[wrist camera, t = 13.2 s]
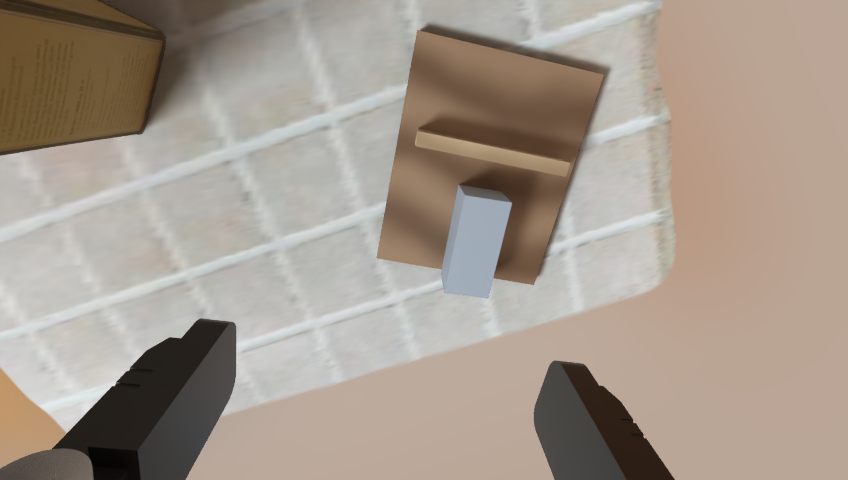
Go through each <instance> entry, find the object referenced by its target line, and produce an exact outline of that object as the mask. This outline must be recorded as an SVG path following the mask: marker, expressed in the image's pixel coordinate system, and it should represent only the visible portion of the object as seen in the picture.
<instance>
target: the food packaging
mask: <svg viewBox="0 0 848 480" xmlns="http://www.w3.org/2000/svg"><path fill="white" fill-rule="evenodd" d="M164 49H165V36H164V34H163V33H162V32H160V31H158V30H157V29H155V28H153V27H151V26H149V25H147V24H145V23H143V22H141V21H139V20H137V19H135V18H133V17H131V16H129V15H127V14H125V13H123V12H121V11H119V10H117V9H115V8H113V7H111V6H109V5H107V4H105V3H103V2H101V1H99V0H0V156H1V155H7V154H13V153H19V152H25V151H31V150H37V149H43V148H49V147H55V146H61V145H68V144H74V143H81V142H87V141H94V140H100V139H107V138H114V137H121V136H128V135H135V134H138V135H140V134H142V132H143V130H144V127H145V124H146V121H147V118H148V114H149V109H150V105H151V100H152V96H153V92H154V88H155V84H156V81H157V77H158V73H159V69H160V65H161V61H162V57H163V53H164Z"/></svg>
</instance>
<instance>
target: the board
mask: <svg viewBox="0 0 848 480" xmlns="http://www.w3.org/2000/svg"><path fill="white" fill-rule="evenodd" d="M603 77H604V75H603V74H599V73H595V72H591V71H587V70H582V69H578V68H574V67H570V66H566V65H562V64H557V63H553V62H549V61H545V60H541V59H536V58H532V57H528V56H524V55H520V54H515V53H511V52H507V51H503V50H499V49H494V48H490V47H486V46H482V45H478V44H474V43H469V42H465V41H461V40H457V39H453V38H448V37H444V36H440V35H436V34H432V33H427V32H423V31H419V30H417V35H416V41H415V46H414V52H413V58H412V63H411V69H410V74H409V80H408V86H407V91H406V97H405V102H404V108H403V114H402V119H401V125H400V130H399V136H398V141H397V147H396V153H395V158H394V164H393V169H392V175H391V181H390V186H389V192H388V197H387V203H386V209H385V214H384V220H383V225H382V231H381V237H380V242H379V248H378V253H377V258H378V259H384V260H390V261H396V262H402V263H408V264H414V265H420V266H425V267H431V268H437V269H442V265H443V260H444V255H445V250H446V245H447V240H448V235H449V230H450V225H451V220H452V215H453V210H454V205H455V200H456V195H457V190H458V185H463V186H470V187H476V188H482V189H489V190H495V191H501V192H502V193H503V194H504V195H505V196H506V197H507V198H508V199H509V200H510V201H511V202H512V206H511V210H510V214H509V217H508V221H507V225H506V229H505V233H504V237H503V241H502V245H501V249H500V253H499V257H498V261H497V265H496V269H495V273H494V277H493V278H496V279H502V280H508V281H514V282H520V283H525V284H531V285H534V283H535V280H536V277H537V274H538V271H539V268H540V265H541V262H542V259H543V256H544V253H545V250H546V247H547V244H548V241H549V238H550V235H551V232H552V229H553V226H554V223H555V220H556V217H557V214H558V211H559V208H560V205H561V202H562V199H563V196H564V193H565V190H566V187H567V184H568V181H569V178H570V175H571V172H572V169H573V166H574V163H575V160H576V157H577V154H578V151H579V148H580V145H581V142H582V139H583V136H584V133H585V130H586V127H587V124H588V121H589V118H590V115H591V112H592V109H593V106H594V103H595V101H596V98H597V95H598V92H599V89H600V86H601V83H602V80H603Z"/></svg>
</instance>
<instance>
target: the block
mask: <svg viewBox="0 0 848 480" xmlns="http://www.w3.org/2000/svg"><path fill="white" fill-rule="evenodd" d="M511 206H512V202H511V201H510V200H509V199H508V198H507V197H506V196H505V195H504V194H503V193H502V192H501V191H495V190H489V189H482V188H476V187H470V186H463V185H458V190H457V195H456V200H455V205H454V210H453V215H452V220H451V225H450V230H449V235H448V240H447V245H446V250H445V255H444V260H443V265H442V270H441V277H442V282H443V287H444V292H445V293H449V294H457V295H465V296H473V297H480V298H488V297H489V293H490V289H491V285H492V281H493V277H494V273H495V269H496V265H497V261H498V257H499V253H500V249H501V245H502V241H503V237H504V233H505V229H506V225H507V221H508V217H509V214H510V210H511Z"/></svg>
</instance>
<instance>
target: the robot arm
mask: <svg viewBox="0 0 848 480" xmlns="http://www.w3.org/2000/svg"><path fill="white" fill-rule="evenodd" d="M235 377H236V325H235V323H234V322H227V321H219V320H210V319H199V320H197V321H196V322H195V323H194V324H193V326H192V327H191V328H190V329H189V330H188V331H187V332H186V334H185V335H184V336H183V337H182V338H181V339H180V338H171V337H170V338H168V339H166V340H164V341H163V342H161V343H159V344H157V345H156V346H154V347H152V348H150V349H149V350H147V351H146V352H145V353H144V354H143V355H142V356H141V357H140V358H139V359H138V360H137V361H136V362H135V363H134V364H133V365H132V366H131V367H130V370H129V371H127V372H126V373H125V374H124V375H123V376H122V377H121V378H120V379H119V380H118V381H117V382H116V385H115V386H112V387H111V388H110V389H109V390H108V391H107V392H106V393H105V394H104V395H103V397H102V398H101V399H100V400H99V401H98V402H97V403H96V404H95V405H94V406H93V407H92V408H91V409H90V410H89V411H88V412H87V413H86V414H85V415H84V416H83V417H82V418H81V419H80V420H79V422H78V423H77V424H76V425H75V426H74V427H73V428H72V429H71V430H70V431H69V432H68V433H67V434H66V435H65V436H64V437H63V438H62V439H61V440H60V441H59V443H57V444H56V445H55V446H54V447H53V448H52V449H51V450H46V451H41V452H37V453H34V454H31V455H28V456H25V457H23V458H20V459H18V460H16V461H14V462H12V463H10V464H8V465H6V466H4V467H3V468H1V469H0V480H185V479H186V478H187V476H188V474H189V472H190V470H191V468H192V466H193V465H194V463H195V461H196V459H197V457H198V455H199V454H200V452H201V450H202V448H203V447H204V445H205V443H206V441H207V439H208V437H209V436H210V434H211V432H212V430H213V428H214V426H215V425H216V423H217V421H218V419H219V417H220V415H221V414H222V412H223V410H224V408H225V406H226V405H227V403H228V401H229V399H230V396H231V394H232V391H233V387H234V383H235ZM534 424H535V429H536V432H537V435H538V437H539V440H540V443H541V445H542V448H543V450H544V453H545V456H546V458H547V461H548V463H549V466H550V468H551V471H552V474H553V476H554V479H555V480H675V479H674V478H673V477H672V475H671V474H670V472H669V471H668V469H667V468H666V467H665V465H664V463H663V462H662V461H661V459H660V458H659V456H658V455H657V453H656V452H655V451H654V449H653V448H652V446H651V445H650V443H649V442H648V440H647V439H645V438H644V437H643V433H642V432H641V430H640V429H639V427H638V426H637V424H636V423H633V419H632V417H631V416H630V415H629V413H628V411H627V410H626V409H625V407H624V406H623V404H622V403H621V402H620V401H619V400H618V399H617V398H616V397H615V396H613V395H612V394H611V393H610V392H609V391H608V390H607V389H606V388H605V387H603V386H599V385H598V383H597V382H596V380H595V379H594V377H593V376H592V374H591V373H590V371H589V370H588V368H587V367H586V366H585V365H584V364H580V363H572V362H563V361H553V362H552V363H551V364H550V366H549V368H548V371H547V374H546V377H545V379H544V382H543V385H542V388H541V391H540V394H539V396H538V399H537V402H536V405H535V409H534Z"/></svg>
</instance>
